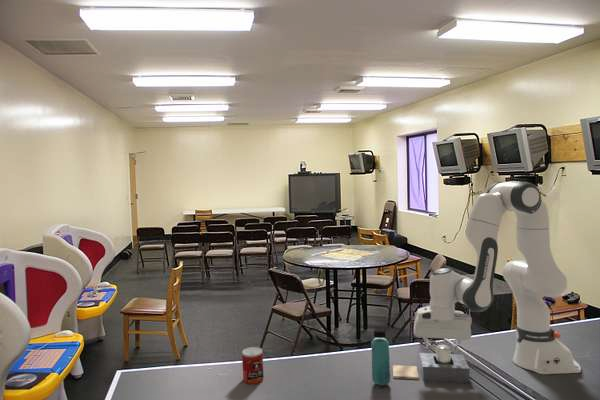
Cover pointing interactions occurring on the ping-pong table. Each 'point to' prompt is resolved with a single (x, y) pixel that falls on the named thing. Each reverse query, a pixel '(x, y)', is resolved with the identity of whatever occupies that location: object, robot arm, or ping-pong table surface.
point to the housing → (444, 368)
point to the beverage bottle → (380, 358)
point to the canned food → (252, 365)
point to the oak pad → (405, 372)
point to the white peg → (443, 354)
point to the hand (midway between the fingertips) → (441, 349)
